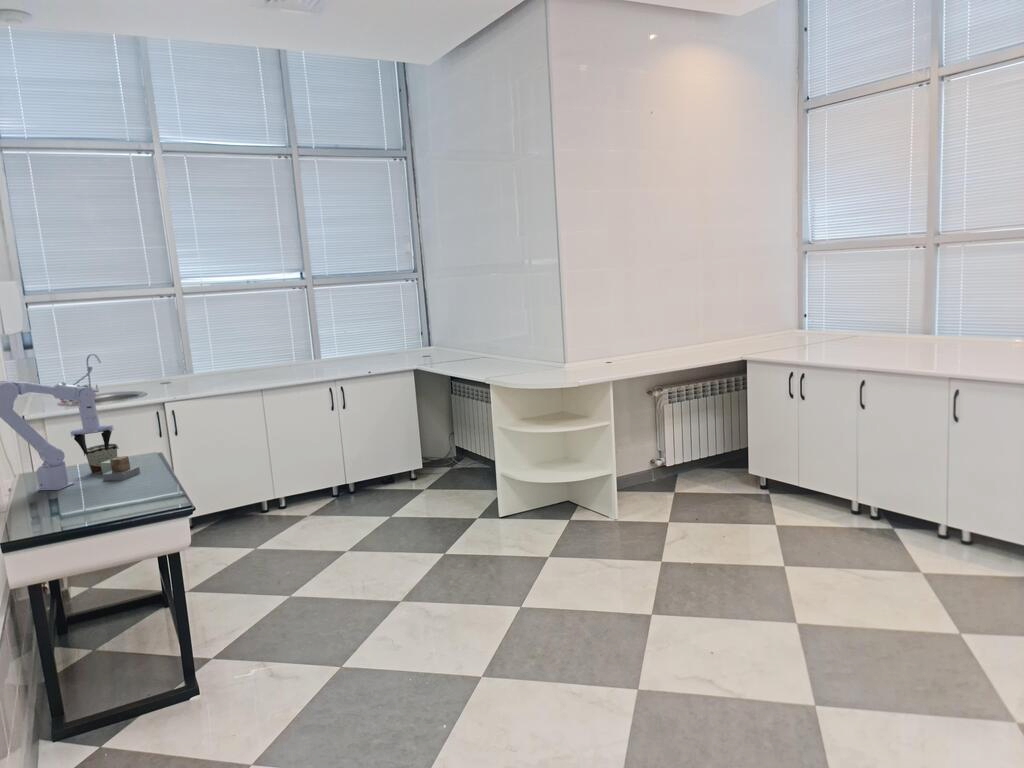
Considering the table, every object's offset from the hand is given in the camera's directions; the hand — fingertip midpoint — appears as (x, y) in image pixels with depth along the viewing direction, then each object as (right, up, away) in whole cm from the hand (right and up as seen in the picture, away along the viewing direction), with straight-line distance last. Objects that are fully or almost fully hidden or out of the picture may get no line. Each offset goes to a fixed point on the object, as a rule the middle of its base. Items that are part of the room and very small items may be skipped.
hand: (96, 451), depth 280 cm
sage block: (+3, -9, +6) cm, 12 cm away
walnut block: (+10, -7, -1) cm, 13 cm away
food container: (-4, -9, +13) cm, 16 cm away
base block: (+10, -10, 0) cm, 15 cm away
